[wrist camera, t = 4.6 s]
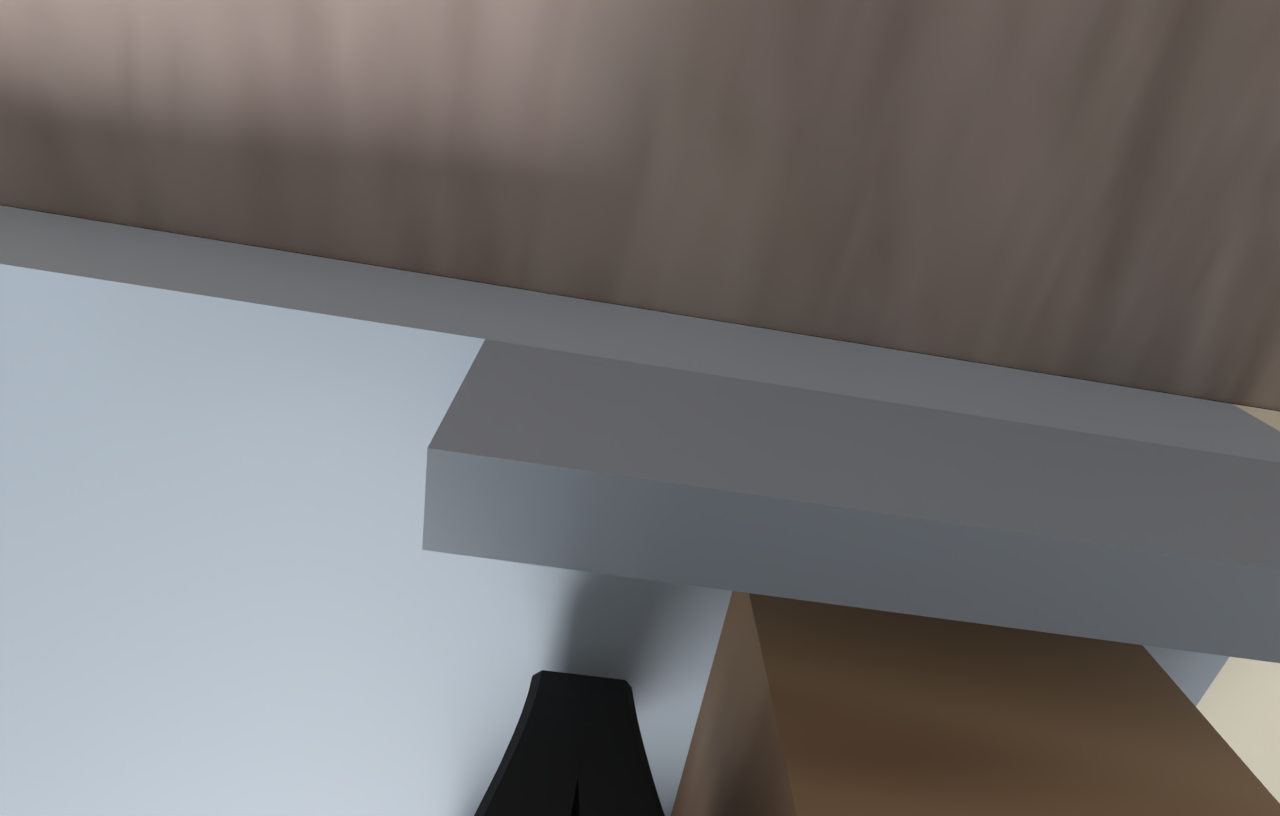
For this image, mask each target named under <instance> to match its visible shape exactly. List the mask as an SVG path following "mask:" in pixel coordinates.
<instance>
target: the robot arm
mask: <svg viewBox="0 0 1280 816" xmlns="http://www.w3.org/2000/svg"><path fill="white" fill-rule="evenodd" d="M474 816H665V814H664V812H663V809H662V806H661V803H660V799H659V796H658V793H657V790H656V787H655V783H654V780H653V777H652V773H651V770H650V766H649V763H648V759H647V755H646V752H645V748H644V744H643V740H642V736H641V732H640V728H639V723H638V719H637V714H636V709H635V704H634V698H633V691H632V687H631V686H630V685H629V684H628V682H627V681H626V680H622V679H613V678H605V677H596V676H588V675H579V674H571V673H562V672H554V671H545V670H541V671H540V672H538V673H536V674H534V675H533V676H532V679H531V683H530V687H529V692H528V695H527V698H526V701H525V704H524V707H523V710H522V713H521V715H520V718H519V721H518V723H517V726H516V728H515V731H514V733H513V736H512V738H511V740H510V742H509V745H508V747H507V749H506V751H505V754H504V756H503V758H502V761H501V763H500V765H499V767H498V769H497V771H496V773H495V775H494V777H493V779H492V781H491V783H490V785H489V787H488V789H487V791H486V793H485V795H484V797H483V799H482V801H481V803H480V805H479V807H478V809H477V811H476V813H475V815H474Z"/></svg>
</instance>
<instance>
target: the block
mask: <svg viewBox="0 0 1280 816" xmlns="http://www.w3.org/2000/svg"><path fill="white" fill-rule="evenodd" d="M671 816H1280V803H1279V802H1278V801H1277V800H1276V799H1275V798H1274V797H1273V795H1272V794H1271V793H1270V792H1269V791H1268V790H1267V788H1266V787H1265V786H1264V785H1263V784H1262V783H1261V781H1260V780H1259V779H1258V778H1257V777H1256V776H1255V775H1254V773H1253V772H1252V771H1251V770H1250V769H1249V768H1248V766H1247V765H1246V764H1245V763H1244V762H1243V761H1242V760H1241V758H1240V757H1239V756H1238V755H1237V754H1236V753H1235V751H1234V750H1233V749H1232V748H1231V747H1230V746H1229V745H1228V743H1227V742H1226V741H1225V740H1224V739H1223V738H1222V736H1221V735H1220V734H1219V733H1218V732H1217V731H1216V730H1215V728H1214V727H1213V726H1212V725H1211V724H1210V723H1209V721H1208V720H1207V719H1206V718H1205V717H1204V716H1203V714H1202V713H1201V712H1200V711H1199V710H1198V709H1197V708H1196V706H1195V705H1194V704H1193V703H1192V702H1191V701H1190V699H1189V698H1188V697H1187V696H1186V695H1185V694H1184V693H1183V691H1182V690H1181V689H1180V688H1179V687H1178V686H1177V684H1176V683H1175V682H1174V681H1173V680H1172V679H1171V678H1170V676H1169V675H1168V674H1167V673H1166V672H1165V671H1164V669H1163V668H1162V667H1161V666H1160V665H1159V664H1158V662H1157V661H1156V660H1155V659H1154V658H1153V657H1152V656H1151V654H1150V653H1149V652H1148V651H1147V650H1146V649H1145V647H1144V646H1143V645H1138V644H1130V643H1123V642H1115V641H1108V640H1100V639H1092V638H1085V637H1077V636H1070V635H1062V634H1055V633H1047V632H1039V631H1032V630H1024V629H1017V628H1009V627H1002V626H994V625H987V624H979V623H971V622H964V621H956V620H949V619H941V618H934V617H926V616H918V615H911V614H903V613H896V612H888V611H881V610H873V609H866V608H858V607H850V606H843V605H835V604H828V603H820V602H813V601H805V600H797V599H790V598H782V597H775V596H767V595H760V594H752V593H745V592H737V591H732V594H731V598H730V602H729V605H728V609H727V613H726V616H725V620H724V624H723V627H722V631H721V634H720V638H719V642H718V645H717V649H716V653H715V656H714V660H713V664H712V667H711V671H710V674H709V678H708V682H707V685H706V689H705V693H704V696H703V700H702V704H701V707H700V711H699V715H698V718H697V722H696V725H695V729H694V733H693V736H692V740H691V744H690V747H689V751H688V755H687V758H686V762H685V765H684V769H683V773H682V776H681V780H680V784H679V787H678V791H677V795H676V798H675V802H674V805H673V809H672V813H671Z"/></svg>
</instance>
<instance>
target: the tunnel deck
mask: <svg viewBox="0 0 1280 816" xmlns="http://www.w3.org/2000/svg"><path fill="white" fill-rule="evenodd" d="M732 591H737V592H745V593H752V594H760V595H767V596H775V597H782V598H790V599H797V600H805V601H813V602H820V603H828V604H835V605H843V606H850V607H858V608H866V609H873V610H881V611H888V612H896V613H903V614H911V615H918V616H926V617H934V618H941V619H949V620H956V621H964V622H971V623H979V624H987V625H994V626H1002V627H1009V628H1017V629H1024V630H1032V631H1039V632H1047V633H1055V634H1062V635H1070V636H1077V637H1085V638H1092V639H1100V640H1108V641H1115V642H1123V643H1130V644H1138V645H1143V646H1144V647H1145V649H1146V650H1147V651H1148V652H1149V653H1150V654H1151V656H1152V657H1153V658H1154V659H1155V660H1156V661H1157V662H1158V664H1159V665H1160V666H1161V667H1162V668H1163V669H1164V671H1165V672H1166V673H1167V674H1168V675H1169V676H1170V678H1171V679H1172V680H1173V681H1174V682H1175V683H1176V684H1177V686H1178V687H1179V688H1180V689H1181V690H1182V691H1183V693H1184V694H1185V695H1186V696H1187V697H1188V698H1189V699H1190V701H1191V702H1192V703H1193V704H1194V705H1195V706H1196V708H1197V709H1198V710H1199V711H1200V712H1201V713H1202V714H1203V716H1204V717H1205V718H1206V719H1207V720H1208V721H1209V723H1210V724H1211V725H1212V726H1213V727H1214V728H1215V730H1216V731H1217V732H1218V733H1219V734H1220V735H1221V736H1222V738H1223V739H1224V740H1225V741H1226V742H1227V743H1228V745H1229V746H1230V747H1231V748H1232V749H1233V750H1234V751H1235V753H1236V754H1237V755H1238V756H1239V757H1240V758H1241V760H1242V761H1243V762H1244V763H1245V764H1246V765H1247V766H1248V768H1249V769H1250V770H1251V771H1252V772H1253V773H1254V775H1255V776H1256V777H1257V778H1258V779H1259V780H1260V781H1261V783H1262V784H1263V785H1264V786H1265V787H1266V788H1267V790H1268V791H1269V792H1270V793H1271V794H1272V795H1273V797H1274V798H1275V799H1276V800H1277V801H1278V802H1279V803H1280V412H1279V411H1273V410H1267V409H1260V408H1254V407H1248V406H1242V405H1236V404H1229V403H1223V402H1217V401H1211V400H1205V399H1198V398H1192V397H1186V396H1180V395H1174V394H1167V393H1161V392H1155V391H1149V390H1143V389H1136V388H1130V387H1124V386H1118V385H1112V384H1105V383H1099V382H1093V381H1087V380H1081V379H1074V378H1068V377H1062V376H1056V375H1050V374H1043V373H1037V372H1031V371H1025V370H1019V369H1012V368H1006V367H1000V366H994V365H988V364H981V363H975V362H969V361H963V360H956V359H950V358H944V357H938V356H932V355H925V354H919V353H913V352H907V351H901V350H894V349H888V348H882V347H876V346H870V345H863V344H857V343H851V342H845V341H839V340H832V339H826V338H820V337H814V336H808V335H801V334H795V333H789V332H783V331H777V330H770V329H764V328H758V327H752V326H746V325H739V324H733V323H727V322H721V321H715V320H708V319H702V318H696V317H690V316H684V315H677V314H671V313H665V312H659V311H653V310H646V309H640V308H634V307H628V306H622V305H615V304H609V303H603V302H597V301H591V300H584V299H578V298H572V297H566V296H559V295H553V294H547V293H541V292H535V291H528V290H522V289H516V288H510V287H504V286H497V285H491V284H485V283H479V282H473V281H466V280H460V279H454V278H448V277H442V276H435V275H429V274H423V273H417V272H411V271H404V270H398V269H392V268H386V267H380V266H373V265H367V264H361V263H355V262H349V261H342V260H336V259H330V258H324V257H318V256H311V255H305V254H299V253H293V252H287V251H280V250H274V249H268V248H262V247H256V246H249V245H243V244H237V243H231V242H225V241H218V240H212V239H206V238H200V237H193V236H187V235H181V234H175V233H169V232H162V231H156V230H150V229H144V228H138V227H131V226H125V225H119V224H113V223H107V222H100V221H94V220H88V219H82V218H76V217H69V216H63V215H57V214H51V213H45V212H38V211H32V210H26V209H20V208H14V207H7V206H1V205H0V816H474V815H475V813H476V811H477V809H478V807H479V805H480V803H481V801H482V799H483V797H484V795H485V793H486V791H487V789H488V787H489V785H490V783H491V781H492V779H493V777H494V775H495V773H496V771H497V769H498V767H499V765H500V763H501V761H502V758H503V756H504V754H505V751H506V749H507V747H508V745H509V742H510V740H511V738H512V736H513V733H514V731H515V728H516V726H517V723H518V721H519V718H520V715H521V713H522V710H523V707H524V704H525V701H526V698H527V695H528V692H529V687H530V683H531V679H532V676H533V675H534V674H536V673H538V672H540V671H541V670H545V671H554V672H562V673H571V674H579V675H588V676H596V677H605V678H613V679H622V680H626V681H627V682H628V684H629V685H630V686H631V687H632V691H633V698H634V704H635V709H636V714H637V719H638V723H639V728H640V732H641V736H642V740H643V744H644V748H645V752H646V755H647V759H648V763H649V766H650V770H651V773H652V777H653V780H654V783H655V787H656V790H657V793H658V796H659V799H660V803H661V806H662V809H663V812H664V814H665V816H671V813H672V809H673V805H674V802H675V798H676V795H677V791H678V787H679V784H680V780H681V776H682V773H683V769H684V765H685V762H686V758H687V755H688V751H689V747H690V744H691V740H692V736H693V733H694V729H695V725H696V722H697V718H698V715H699V711H700V707H701V704H702V700H703V696H704V693H705V689H706V685H707V682H708V678H709V674H710V671H711V667H712V664H713V660H714V656H715V653H716V649H717V645H718V642H719V638H720V634H721V631H722V627H723V624H724V620H725V616H726V613H727V609H728V605H729V602H730V598H731V594H732Z"/></svg>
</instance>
